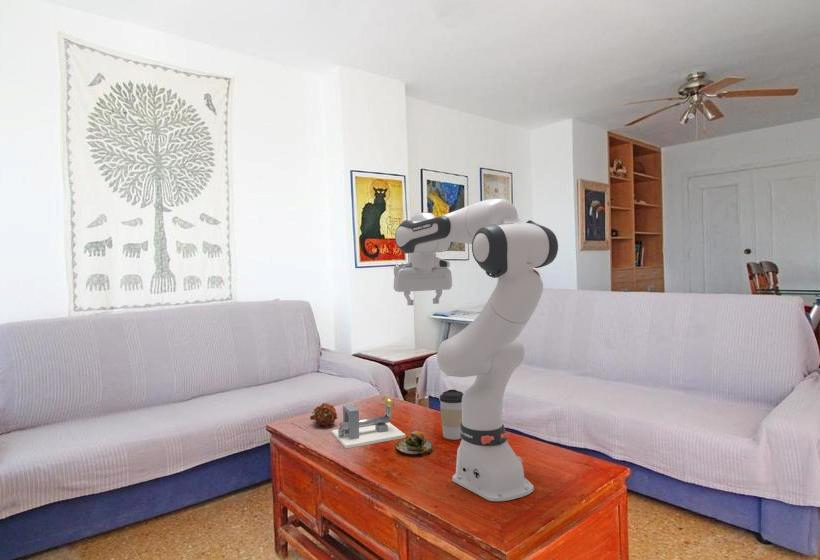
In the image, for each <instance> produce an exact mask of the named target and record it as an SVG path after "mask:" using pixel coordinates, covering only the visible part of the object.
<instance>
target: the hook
mask: <svg viewBox="0 0 820 560" xmlns="http://www.w3.org/2000/svg"><path fill="white" fill-rule="evenodd" d="M381 402H382V403H383V404H384V415H381V416H375V417H374V416H373V417H368V418H363V419H362V418H361V419H359V428H361V427H367V426H373V425H379V424H385V423H390V421H391V419H392V408H394V406H395V402H394V400H392V399H391V398H389V397H388V396H385V395H384V396H382V397H381ZM337 429H338V436H344V430H349V421H348V422H340V423H339V428H337Z"/></svg>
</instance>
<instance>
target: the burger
mask: <svg viewBox="0 0 820 560" xmlns="http://www.w3.org/2000/svg"><path fill="white" fill-rule="evenodd" d="M420 430H421V425H420V427H419V430H414V431H412V432H411V433H410V437H409V436H408V435H406V438H404V439H403V440H399V441H398V442H397V443H396V444H395V445H394V446H395V448H396V449H397V450H398V451H400V452H401V453H403V454H408V455H421V457H426V456H428V453H430V454H432V453H433V451H434V447H433V446H434V444H432V442H431V441H429V440H426V439H425V436H424V434H423V433H422V432H421V431H420Z"/></svg>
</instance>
